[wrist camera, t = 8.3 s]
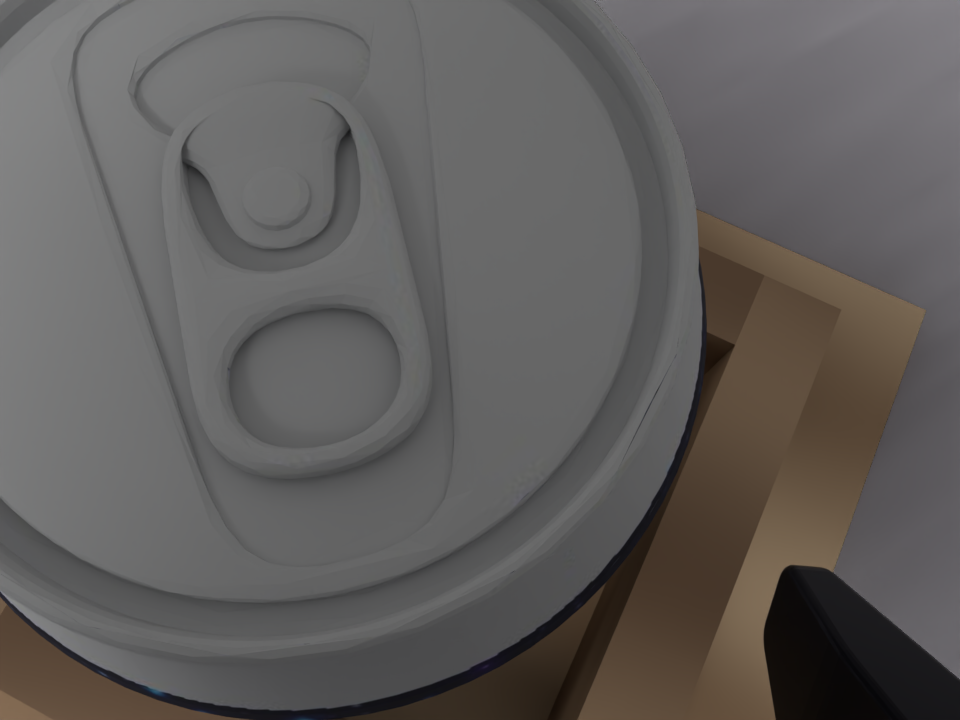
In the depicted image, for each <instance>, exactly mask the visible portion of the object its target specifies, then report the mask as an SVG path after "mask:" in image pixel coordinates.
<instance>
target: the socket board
mask: <svg viewBox="0 0 960 720" xmlns="http://www.w3.org/2000/svg"><path fill="white" fill-rule="evenodd" d="M696 214H697V227H698V246H699V259H700V264H701V268H702V276H703V283H704V290H705V300H706V318H707V338H706V359H705V368H704V376H703V385H702V390H701V395H700V400H699V405H698V410H697V414H696V418H695V421H694V425H693V428H692V432H691V435H690V439H689V442H688V445H687V448H686V450H685V453H684V456H683V458H682V461H681V464H680V466H679V469H678V472H677V474H676V476H675V478H674V480H673V482H672V484H671V486H670V488H669V491H668V493H667V495H666V497H665V499H664V501H663V503H662V504H661V506H660V508H659V510H658V511H657V513H656V515H655V516H654V518H653V520H652V522H651V523H650V525H649V527H648V528H647V530H646V531H645V533H644V534H643V536H642V537H641V538H640V540H639V541H638V543H637V544H636V546H635V547H634V549H633V550H632V551H631V553H630V554H629V556H628V557H627V558H626V559H625V560H624V562H623V563H622V564H621V565H620V566H619V568H618V569H617V570H616V571H615V573H614V574H613V575H612V576H611V577H610V579H609V580H608V581H607V582H606V583H605V584H604V585H603V586H602V587H601V588H600V589H599V590H598V591H597V592H596V593H595V594H594V595H593V596H592V597H591V598H590V599H589V600H588V601H587V602H586V603H585V605H583V606H582V607H581V608H580V609H579V610H578V611H577V612H575V613H574V614H573V615H572V616H571V617H570V618H569V619H567V620H566V621H565V622H564V623H563V624H562V625H560V626H559V627H558V628H557V629H555V630H554V631H553V632H551V633H550V634H549V635H547V636H546V637H545V638H543V639H542V640H540V641H539V642H538V643H536V644H535V645H534V646H532V647H531V648H529V649H528V650H526V651H525V652H523V653H521V654H520V655H518V656H517V657H515V658H513V659H512V660H510V661H508V662H507V663H505V664H504V665H502V666H500V667H498V668H496V669H494V670H492V671H490V672H488V673H486V674H484V675H483V676H481V677H479V678H477V679H475V680H473V681H471V682H469V683H466V684H464V685H461V686H459V687H456V688H454V689H452V690H449V691H447V692H444V693H442V694H439V695H437V696H434V697H431V698H428V699H425V700H421V701H418V702H415V703H412V704H409V705H406V706H403V707H398V708H394V709H390V710H385V711H381V712H376V713H372V714H368V715H361V716H354V717H347V718H340V719H333V720H776V719H775V713H774V706H773V700H772V694H771V688H770V682H769V676H768V670H767V664H766V658H765V652H764V642H763V635H764V626H765V622H766V618H767V615H768V612H769V609H770V606H771V602H772V599H773V596H774V593H775V590H776V586H777V583H778V580H779V577H780V574H781V573H782V571H783V570H784V568H785V567H787V566H789V565H802V566H813V567H822V568H826V569H828V570H830V571H831V572H833V571H834V568H835V565H836V562H837V560H838V557H839V554H840V551H841V548H842V546H843V543H844V540H845V537H846V534H847V532H848V529H849V526H850V523H851V520H852V518H853V515H854V512H855V509H856V506H857V503H858V501H859V498H860V495H861V492H862V489H863V487H864V484H865V481H866V478H867V475H868V473H869V470H870V467H871V464H872V461H873V458H874V456H875V453H876V450H877V447H878V444H879V442H880V439H881V436H882V433H883V430H884V428H885V425H886V422H887V419H888V416H889V414H890V411H891V408H892V405H893V402H894V399H895V397H896V394H897V391H898V388H899V385H900V383H901V380H902V377H903V374H904V371H905V369H906V366H907V363H908V360H909V357H910V354H911V352H912V349H913V346H914V343H915V340H916V338H917V335H918V332H919V329H920V326H921V324H922V321H923V318H924V315H925V312H926V310H925V309H922V308H920V307H918V306H915V305H913V304H911V303H909V302H906V301H904V300H902V299H900V298H897V297H895V296H893V295H890V294H888V293H886V292H884V291H881V290H879V289H877V288H875V287H872V286H870V285H868V284H865V283H863V282H861V281H859V280H856V279H854V278H852V277H850V276H847V275H845V274H843V273H840V272H838V271H836V270H834V269H831V268H829V267H827V266H825V265H822V264H820V263H818V262H816V261H813V260H811V259H809V258H806V257H804V256H802V255H800V254H797V253H795V252H793V251H791V250H788V249H786V248H784V247H781V246H779V245H777V244H775V243H772V242H770V241H768V240H766V239H763V238H761V237H759V236H756V235H754V234H752V233H750V232H747V231H745V230H743V229H741V228H738V227H736V226H734V225H731V224H729V223H727V222H725V221H722V220H720V219H718V218H716V217H713V216H711V215H709V214H707V213H704V212H702V211H700V210H697V209H696ZM0 720H249V719H240V718H231V717H224V716H219V715H214V714H209V713H204V712H199V711H194V710H190V709H186V708H183V707H179V706H176V705H172V704H169V703H166V702H162V701H159V700H156V699H153V698H151V697H148V696H146V695H143V694H140V693H138V692H135V691H133V690H130V689H128V688H125V687H123V686H121V685H119V684H117V683H115V682H113V681H111V680H109V679H107V678H105V677H103V676H101V675H99V674H97V673H95V672H93V671H92V670H90V669H88V668H87V667H85V666H83V665H82V664H80V663H79V662H77V661H75V660H74V659H72V658H70V657H69V656H67V655H66V654H64V653H63V652H62V651H60V650H59V649H58V648H56V647H55V646H54V645H52V644H51V643H50V642H48V641H47V640H46V639H44V638H43V637H41V636H40V635H39V634H38V633H37V632H36V631H34V630H33V629H32V628H31V627H30V626H29V625H28V624H27V623H26V622H24V621H23V620H22V619H21V618H20V617H19V616H18V615H17V614H15V613H14V612H13V610H12V609H11V608H10V607H9V606H8V605H7V604H6V603H5V602H4V601H3V600H2V599H1V597H0Z"/></svg>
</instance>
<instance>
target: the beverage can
mask: <svg viewBox="0 0 960 720" xmlns="http://www.w3.org/2000/svg"><path fill="white" fill-rule="evenodd" d="M706 338H707V318H706V300H705V290H704V283H703V276H702V268H701V264H700V259H699V246H698V227H697V214H696V203H695V199H694V194H693V190H692V185H691V181H690V176H689V172H688V167H687V163H686V158H685V154H684V149H683V146H682V143H681V141H680V138H679V136H678V133H677V131H676V128H675V126H674V123H673V121H672V119H671V116H670V114H669V111H668V109H667V106H666V104H665V101H664V99H663V96H662V94H661V92H660V91H659V89H658V87H657V86H656V84H655V82H654V81H653V79H652V77H651V76H650V74H649V73H648V71H647V69H646V68H645V66H644V64H643V63H642V61H641V59H640V58H639V56H638V55H637V53H636V51H635V50H634V48H633V46H632V45H631V44H630V43H629V41H628V40H627V39H626V38H625V37H624V35H623V34H622V33H621V32H620V31H619V30H618V28H617V27H616V26H615V25H614V24H613V23H612V21H611V20H610V19H609V18H608V17H607V16H606V14H605V13H604V12H603V11H602V10H601V8H600V7H599V6H598V5H597V4H596V3H595V2H594V1H593V0H0V597H1V599H2V600H3V601H4V602H5V603H6V604H7V605H8V606H9V607H10V608H11V609H12V610H13V612H14V613H15V614H17V615H18V616H19V617H20V618H21V619H22V620H23V621H24V622H26V623H27V624H28V625H29V626H30V627H31V628H32V629H33V630H34V631H36V632H37V633H38V634H39V635H40V636H41V637H43V638H44V639H46V640H47V641H48V642H50V643H51V644H52V645H54V646H55V647H56V648H58V649H59V650H60V651H62V652H63V653H64V654H66V655H67V656H69V657H70V658H72V659H74V660H75V661H77V662H79V663H80V664H82V665H83V666H85V667H87V668H88V669H90V670H92V671H93V672H95V673H97V674H99V675H101V676H103V677H105V678H107V679H109V680H111V681H113V682H115V683H117V684H119V685H121V686H123V687H125V688H128V689H130V690H133V691H135V692H138V693H140V694H143V695H146V696H148V697H151V698H153V699H156V700H159V701H162V702H166V703H169V704H172V705H176V706H179V707H183V708H186V709H190V710H194V711H199V712H204V713H209V714H214V715H219V716H224V717H231V718H240V719H249V720H333V719H340V718H347V717H354V716H361V715H368V714H372V713H376V712H381V711H385V710H390V709H394V708H398V707H403V706H406V705H409V704H412V703H415V702H418V701H421V700H425V699H428V698H431V697H434V696H437V695H439V694H442V693H444V692H447V691H449V690H452V689H454V688H456V687H459V686H461V685H464V684H466V683H469V682H471V681H473V680H475V679H477V678H479V677H481V676H483V675H484V674H486V673H488V672H490V671H492V670H494V669H496V668H498V667H500V666H502V665H504V664H505V663H507V662H508V661H510V660H512V659H513V658H515V657H517V656H518V655H520V654H521V653H523V652H525V651H526V650H528V649H529V648H531V647H532V646H534V645H535V644H536V643H538V642H539V641H540V640H542V639H543V638H545V637H546V636H547V635H549V634H550V633H551V632H553V631H554V630H555V629H557V628H558V627H559V626H560V625H562V624H563V623H564V622H565V621H566V620H567V619H569V618H570V617H571V616H572V615H573V614H574V613H575V612H577V611H578V610H579V609H580V608H581V607H582V606H583V605H585V603H586V602H587V601H588V600H589V599H590V598H591V597H592V596H593V595H594V594H595V593H596V592H597V591H598V590H599V589H600V588H601V587H602V586H603V585H604V584H605V583H606V582H607V581H608V580H609V579H610V577H611V576H612V575H613V574H614V573H615V571H616V570H617V569H618V568H619V566H620V565H621V564H622V563H623V562H624V560H625V559H626V558H627V557H628V556H629V554H630V553H631V551H632V550H633V549H634V547H635V546H636V544H637V543H638V541H639V540H640V538H641V537H642V536H643V534H644V533H645V531H646V530H647V528H648V527H649V525H650V523H651V522H652V520H653V518H654V516H655V515H656V513H657V511H658V510H659V508H660V506H661V504H662V503H663V501H664V499H665V497H666V495H667V493H668V491H669V488H670V486H671V484H672V482H673V480H674V478H675V476H676V474H677V472H678V469H679V466H680V464H681V461H682V458H683V456H684V453H685V450H686V448H687V445H688V442H689V439H690V435H691V432H692V428H693V425H694V421H695V418H696V414H697V410H698V405H699V400H700V395H701V390H702V385H703V376H704V368H705V359H706Z"/></svg>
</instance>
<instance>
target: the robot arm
mask: <svg viewBox="0 0 960 720" xmlns="http://www.w3.org/2000/svg"><path fill="white" fill-rule="evenodd" d="M763 642H764V652H765V658H766V664H767V670H768V676H769V682H770V688H771V694H772V700H773V706H774V713H775V719H776V720H960V679H959V678H957V677H956V676H955V675H954V674H953V673H952V672H950V671H949V670H948V669H947V668H946V667H944V666H943V665H942V664H941V663H940V662H938V661H937V660H936V659H935V658H934V657H933V656H931V655H930V654H929V653H928V652H927V651H925V650H924V649H923V648H922V647H921V646H920V645H918V644H917V643H916V642H915V641H914V640H912V639H911V638H910V637H909V636H908V635H906V634H905V633H904V632H903V631H902V630H901V629H899V628H898V627H897V626H896V625H895V624H893V623H892V622H891V621H890V620H889V619H887V618H886V617H885V616H884V615H883V614H882V613H880V612H879V611H878V610H877V609H876V608H874V607H873V606H872V605H871V604H870V603H869V602H867V601H866V600H865V599H864V598H863V597H861V596H860V595H859V594H858V593H857V592H855V591H854V590H853V589H852V588H851V587H850V586H848V585H847V584H846V583H845V582H844V581H842V580H841V579H840V578H839V577H838V576H836V575H835V574H834V573H833V572H831V571H830V570H828V569H826V568H822V567H813V566H802V565H789V566H787V567H785V568H784V570H783V571H782V573H781V574H780V577H779V580H778V583H777V586H776V590H775V593H774V596H773V599H772V602H771V606H770V609H769V612H768V615H767V618H766V622H765V626H764V635H763Z"/></svg>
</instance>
